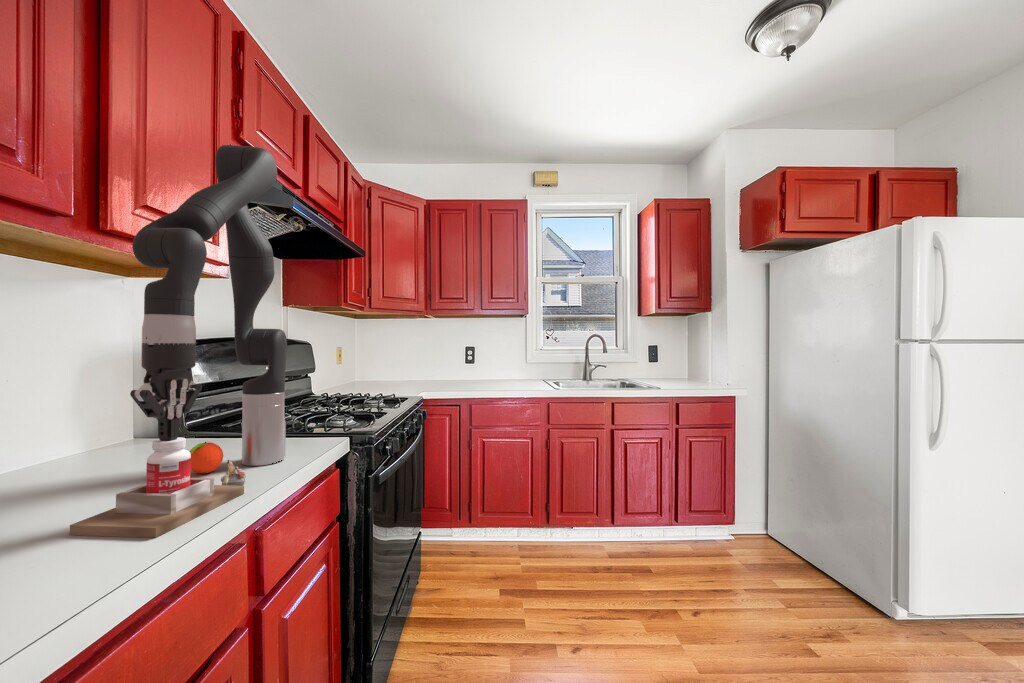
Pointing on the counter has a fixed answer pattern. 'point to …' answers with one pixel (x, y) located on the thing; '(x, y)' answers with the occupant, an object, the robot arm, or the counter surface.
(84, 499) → the counter surface
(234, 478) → the figurine
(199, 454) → the clementine
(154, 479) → the pill bottle
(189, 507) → the bottle holder
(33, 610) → the counter surface
